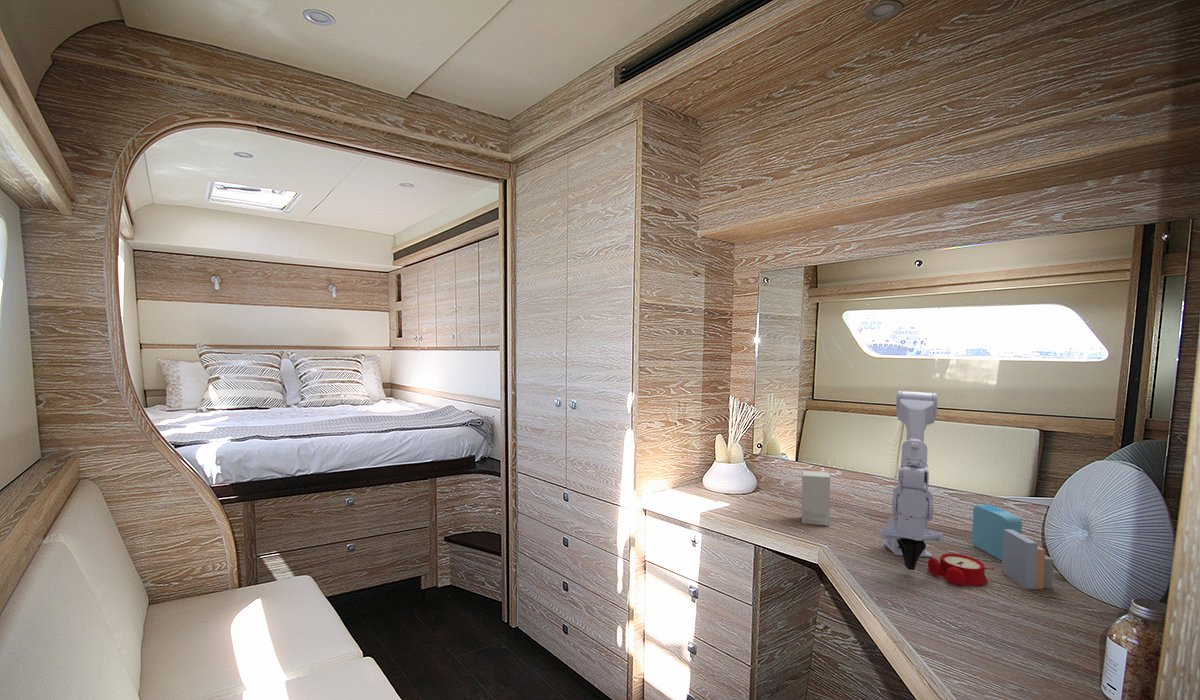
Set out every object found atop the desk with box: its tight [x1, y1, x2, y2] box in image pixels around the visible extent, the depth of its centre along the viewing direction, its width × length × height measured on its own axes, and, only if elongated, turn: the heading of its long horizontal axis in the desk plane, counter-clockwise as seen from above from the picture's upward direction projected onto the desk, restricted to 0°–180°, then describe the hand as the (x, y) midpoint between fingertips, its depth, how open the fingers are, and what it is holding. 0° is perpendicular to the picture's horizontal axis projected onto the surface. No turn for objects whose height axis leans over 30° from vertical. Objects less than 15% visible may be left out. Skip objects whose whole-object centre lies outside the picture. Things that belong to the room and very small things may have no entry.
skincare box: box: [801, 470, 831, 527], centre depth 172 cm, size 8×7×16 cm
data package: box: [971, 504, 1023, 561], centre depth 150 cm, size 12×4×12 cm, turn 3°
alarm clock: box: [926, 553, 995, 587], centre depth 135 cm, size 10×6×15 cm
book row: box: [1001, 529, 1054, 590], centre depth 134 cm, size 6×9×11 cm
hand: (909, 568), depth 137 cm, fingers closed
